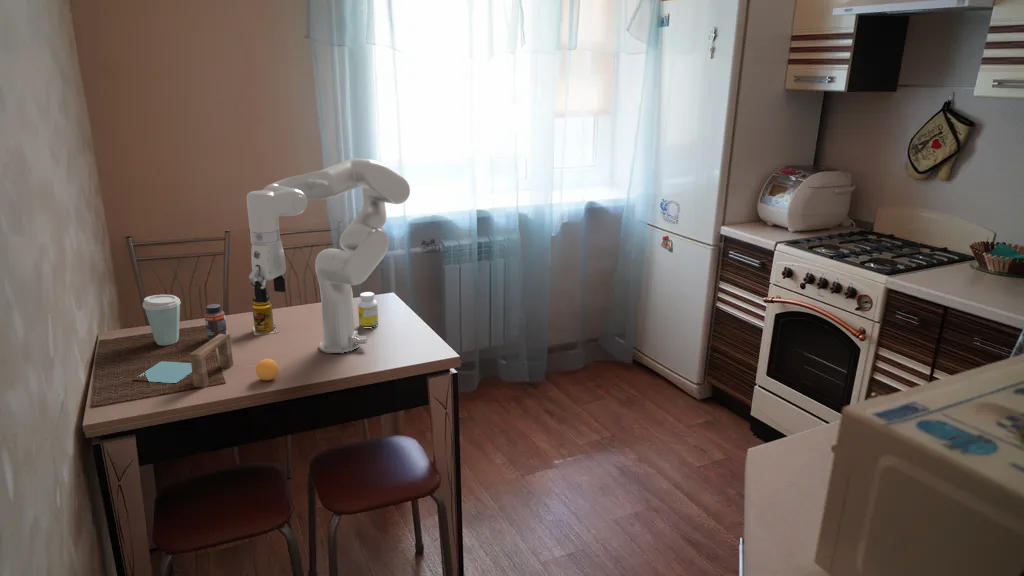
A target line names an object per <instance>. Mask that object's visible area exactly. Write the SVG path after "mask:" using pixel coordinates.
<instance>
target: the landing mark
mask: <svg viewBox="0 0 1024 576" xmlns="http://www.w3.org/2000/svg"><path fill="white" fill-rule="evenodd" d="M144 372H145V373H146V374H145V373H144ZM144 372H142V373H141V374H140V375H138V376H140V377H141V376H142V375H143V376H144V374H145V375H146V377H147V379H148V381H149V382H148V383H157V382H161V384H171V383H177V382H178V383H179V382H181V381H182V380H183V379H185V378H186V377H188V376H189V375H191V374H192V366H191V362H178V361H164V360H162V361H159V362H158V363H156V364H155V365H153V366H151V367H150V368H148V369H147V370H145V371H144ZM187 375H188V376H187ZM180 380H181V381H180ZM178 383H177V384H178Z"/></svg>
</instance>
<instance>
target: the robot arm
mask: <svg viewBox="0 0 1024 576" xmlns="http://www.w3.org/2000/svg"><path fill="white" fill-rule="evenodd" d="M357 188H361V190H362V207H361V210H360V212H359V213H357V215H356V216H355V217H354V219H353V220H352V221H351V222H350V223H349V225H348V226H346V228H345V229H344V231H343V232H342V233H341V236H340V238H339V246H340V247H341V248H342V249H339V248H325V249H323V250H321V251H320V252H319V253H318V254H317V256H316V258H315V262H314V269H315V273H316V277H317V281H318V285H319V292H320V304H321V305H320V307H321V318H322V321H321V322H322V331H323V340H322V341H320V343H319V344H318V346H319V350H320V351H321V352H323V353H326V354H331V353H341V354H345V353H344V352H347V353H349V352H348V351H351V350H354V349H356V348H358V347H359V346H360V347H361V345H368V338H367V336H366V335H359V333H358V330H355V317H354V313H355V312H354V302H353V301H354V297H353V296H354V295H353V289H352V286H358V285H361V284H362V283H363V282H365V281H366V280H367V279H368V277H370V275H371V274H372V273H373V271H374V270H375V269H376V267H377V266H378V265H379V264H380V263H381V261H383V259H384V257H385V255H387V252H388V250H389V244H390V243H389V241H390V240H389V239H390V238H389V236H388V234H387V232H385V230H383V229H382V228H383V227H384V226H385V223H386V221H387V212H386V203H387V204H391V205H392V204H393V205H400V204H403V203H404V202H406V201H407V200H408V198H409V197H410V194H411V189H410V185H409V182H408V181H407V180H406V179H405V177H403V176H401V175H400V174H398V173H397V172H395V171H393V169H391V168H389V167H388V166H386V165H384V164H383V163H381V162H379V161H377V160H373V159H367V158H357V157H356V158H354V157H353V158H349V159H347V160H344V161H341V162H339V163H336V164H334V165H331V166H329V167H326V168H324V169H323V168H322V169H321V170H316V171H311V172H308V173H304V174H303V173H302V174H299V175H293V176H289V177H285V178H282V179H280V180H277V181H275V182H272V183H270V184H268V185H266V186H265V187H264V188H263V189H262V190H253V191H249V192H248V193H247V194H246V206H247V207H246V208H247V215H248V217H247V218H248V226H249V237H250V243H251V247H250V248H251V251H250V255H251V256H250V257H251V261H250V262H251V272H250V274H249V276H248V279H249V281H250V284H251V286H252V288H253V289H254V290H253V292H254V297H255V300H256V302H262V303H266V302H267V295H268V292H267V288H266V283H267V281H272V280H273V290H274V292H277V293H278V292H279V293H285V292H286V281H285V279H286V273H285V272H286V271H287V266H286V265H287V260H286V258H285V251H284V247H283V242H282V240H281V235H280V234H281V233H280V223H279V221H280V220H279V217H293V216H299V215H301V214H302V213H303V212H304V211H306V209H307V207H308V201H311V200H314V201H315V200H317V201H319V200H327V199H328V200H330V199H333V198H335V197H338V196H340V195H342V194H345V193H347V192H349V191H352V190H354V189H357ZM260 281H261V282H260ZM360 347H359V348H360ZM359 348H358V349H359ZM356 350H357V349H356ZM354 351H355V350H354ZM351 352H352V351H351Z"/></svg>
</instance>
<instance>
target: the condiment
mask: <svg viewBox="0 0 1024 576" xmlns="http://www.w3.org/2000/svg"><path fill="white" fill-rule="evenodd" d="M270 299H271V297H270V295H268V294H267V302H266V303H262V302H256V300H255V296H253V298H252V304H253V305H252V306H251V308H252V315H253V316H252V317H253V323H254V324H253V325H254V326H252V327H251V328H252V331H253V336H259V335H260V336H262V335H268V334H273V333H278V330H277V331H276V332H273V331H274V329H275V328H276V329H277V326H276V323H274V315H273V314H274V313H273V306H272V305H273V304H272V303H271V300H270ZM274 326H276V327H274Z"/></svg>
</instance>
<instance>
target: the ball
mask: <svg viewBox="0 0 1024 576" xmlns="http://www.w3.org/2000/svg"><path fill="white" fill-rule="evenodd" d="M255 373H256V375H257V377H258V378H259V380H262V381H271V380H273V379H275V378H276V377H277V376H278V374H279V365H278V363H277V362H276V361H275V360H274V359H270V358H265V359H262V360H260V361H259V362H257V364H256V367H255Z"/></svg>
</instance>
